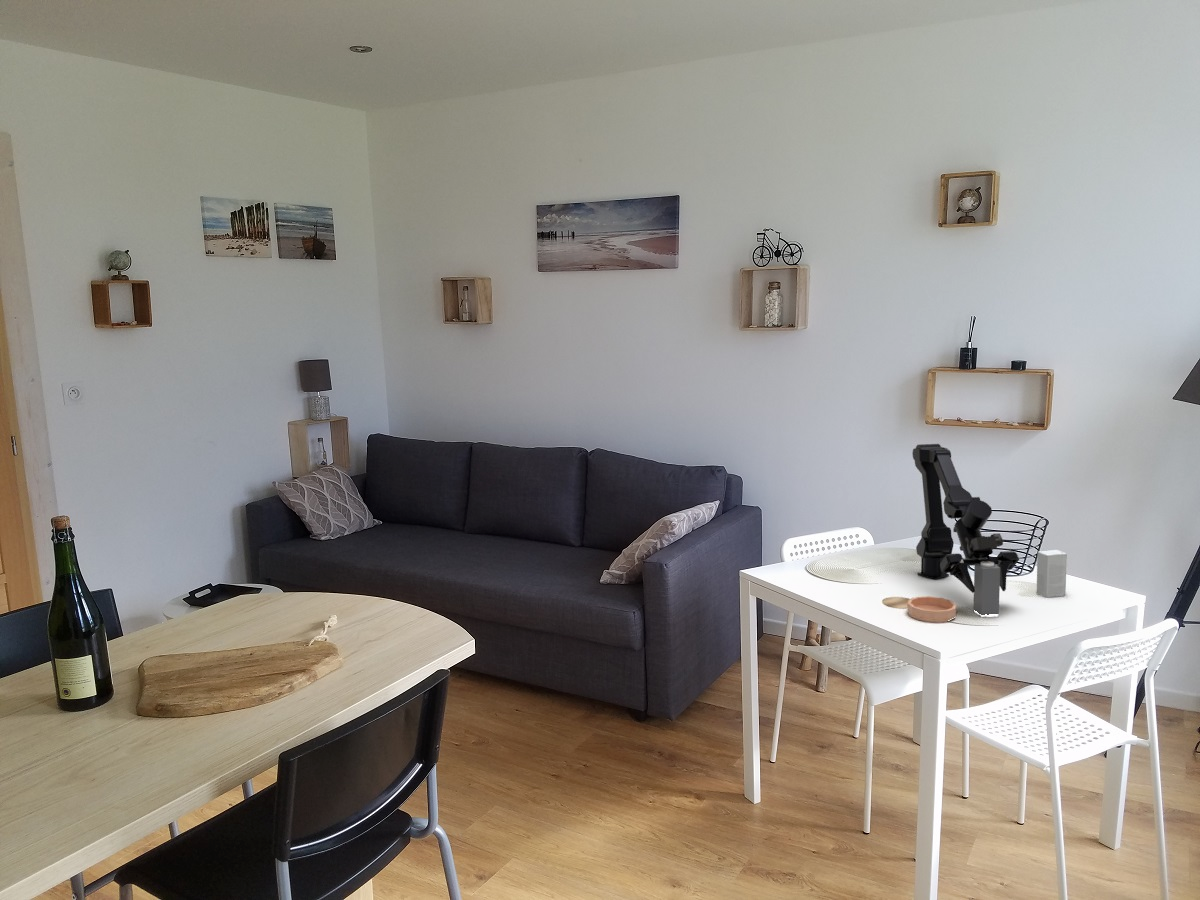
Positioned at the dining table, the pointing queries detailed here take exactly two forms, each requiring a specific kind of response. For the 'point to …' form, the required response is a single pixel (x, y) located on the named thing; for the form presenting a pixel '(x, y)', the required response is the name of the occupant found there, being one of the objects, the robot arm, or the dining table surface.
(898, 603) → the cork coaster
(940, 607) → the ring dish
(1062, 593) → the skincare box
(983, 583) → the canister
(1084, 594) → the dining table surface
